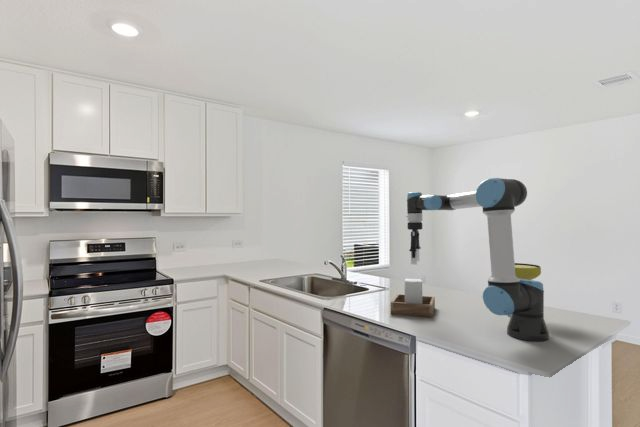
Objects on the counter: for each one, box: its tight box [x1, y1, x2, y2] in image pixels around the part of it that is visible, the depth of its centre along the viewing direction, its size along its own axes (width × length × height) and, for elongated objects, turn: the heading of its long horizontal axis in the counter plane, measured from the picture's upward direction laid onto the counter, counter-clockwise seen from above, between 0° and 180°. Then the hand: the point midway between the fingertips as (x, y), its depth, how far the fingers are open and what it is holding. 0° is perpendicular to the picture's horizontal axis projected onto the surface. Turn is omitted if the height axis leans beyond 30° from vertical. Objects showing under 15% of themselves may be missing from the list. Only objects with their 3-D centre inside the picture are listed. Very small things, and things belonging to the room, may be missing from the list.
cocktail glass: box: [507, 262, 542, 319], centre depth 181 cm, size 18×18×25 cm
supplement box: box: [404, 278, 423, 304], centre depth 194 cm, size 9×9×15 cm
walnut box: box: [390, 293, 436, 319], centre depth 193 cm, size 20×20×6 cm
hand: (415, 262), depth 194 cm, fingers open, 13 cm apart
